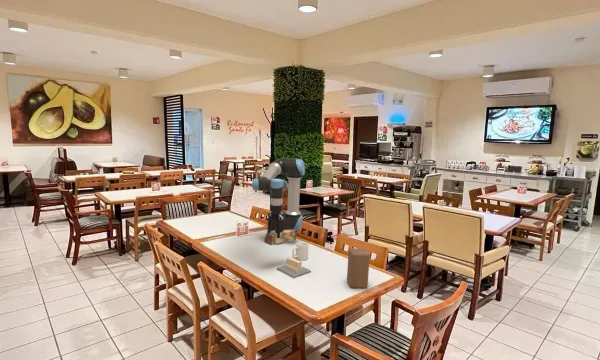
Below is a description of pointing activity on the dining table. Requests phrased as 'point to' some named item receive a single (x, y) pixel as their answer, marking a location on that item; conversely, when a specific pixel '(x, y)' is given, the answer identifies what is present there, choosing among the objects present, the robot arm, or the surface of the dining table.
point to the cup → (301, 251)
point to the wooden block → (358, 268)
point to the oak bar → (282, 237)
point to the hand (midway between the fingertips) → (274, 241)
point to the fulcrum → (293, 268)
